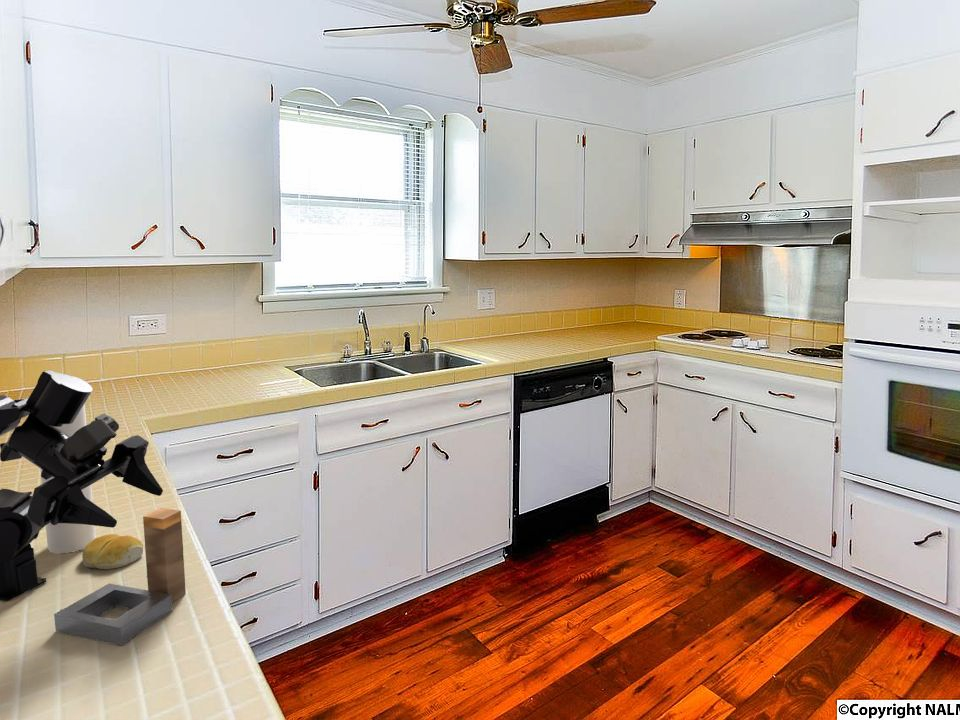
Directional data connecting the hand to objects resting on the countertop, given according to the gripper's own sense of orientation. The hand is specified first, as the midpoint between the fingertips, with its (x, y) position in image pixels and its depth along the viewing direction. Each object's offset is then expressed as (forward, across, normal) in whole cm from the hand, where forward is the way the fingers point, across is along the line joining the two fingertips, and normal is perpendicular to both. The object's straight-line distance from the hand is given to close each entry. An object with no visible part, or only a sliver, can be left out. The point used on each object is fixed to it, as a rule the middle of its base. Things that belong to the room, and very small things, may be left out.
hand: (139, 508), depth 97 cm
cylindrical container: (-14, +9, +26) cm, 31 cm away
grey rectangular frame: (+7, -9, +10) cm, 15 cm away
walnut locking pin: (+10, -2, +10) cm, 14 cm away
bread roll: (-4, +7, +20) cm, 22 cm away
